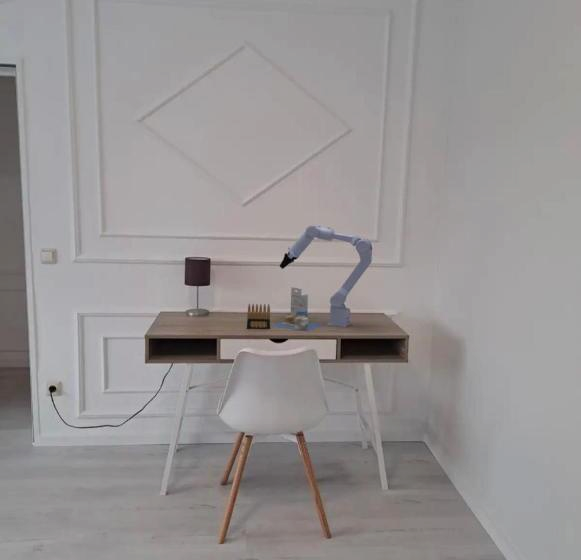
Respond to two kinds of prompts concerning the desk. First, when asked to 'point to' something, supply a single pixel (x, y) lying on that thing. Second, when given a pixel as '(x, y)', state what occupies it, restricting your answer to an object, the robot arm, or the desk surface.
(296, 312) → the ink box
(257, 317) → the ammunition clip
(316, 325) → the board
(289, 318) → the base slab
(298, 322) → the top block
